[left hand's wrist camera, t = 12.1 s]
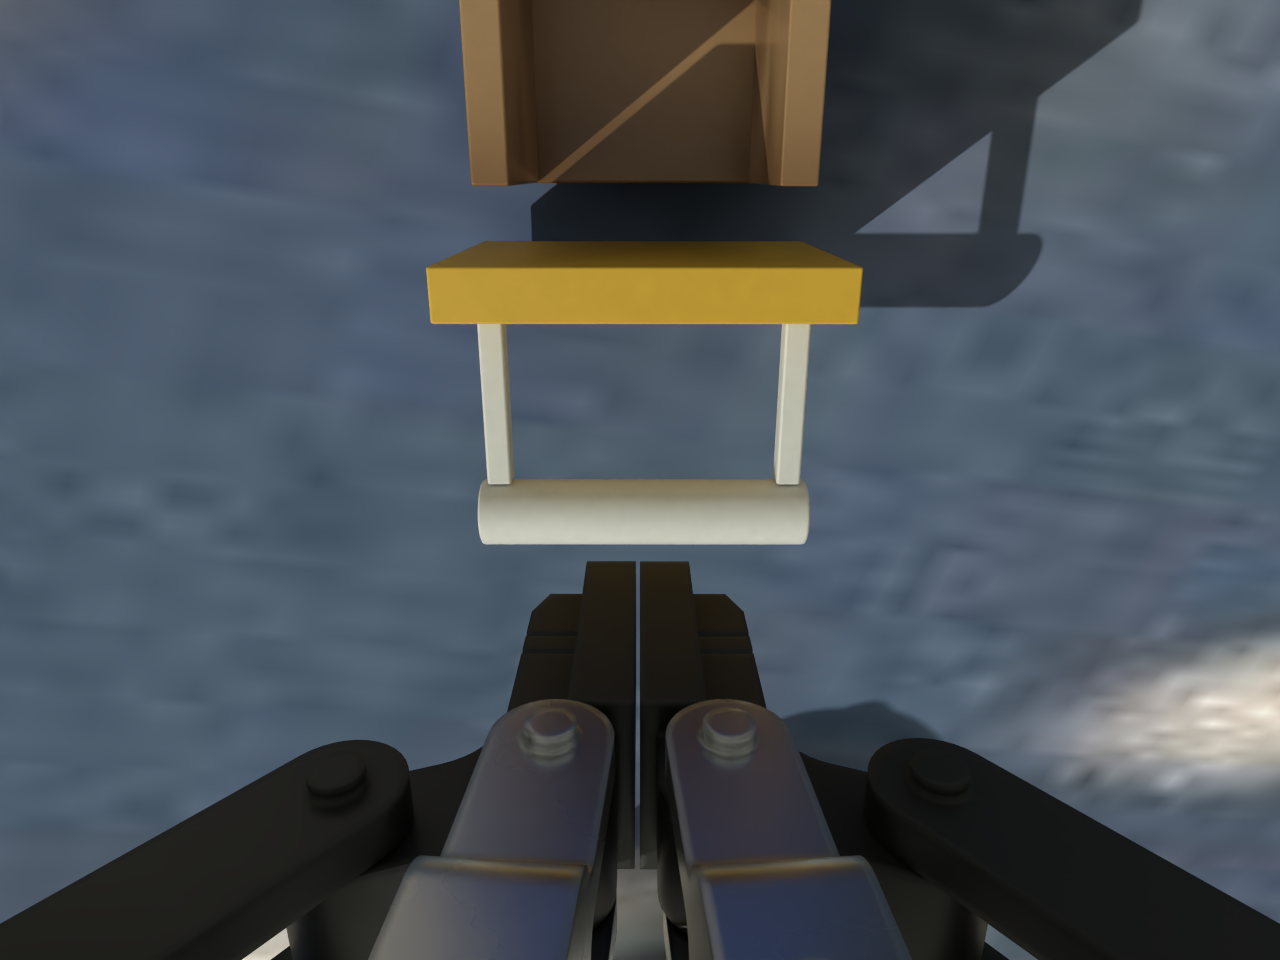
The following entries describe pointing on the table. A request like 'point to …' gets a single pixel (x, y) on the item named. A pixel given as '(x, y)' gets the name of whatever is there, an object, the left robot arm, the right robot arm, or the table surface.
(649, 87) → the drawer
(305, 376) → the table surface
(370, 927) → the left robot arm
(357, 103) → the table surface
